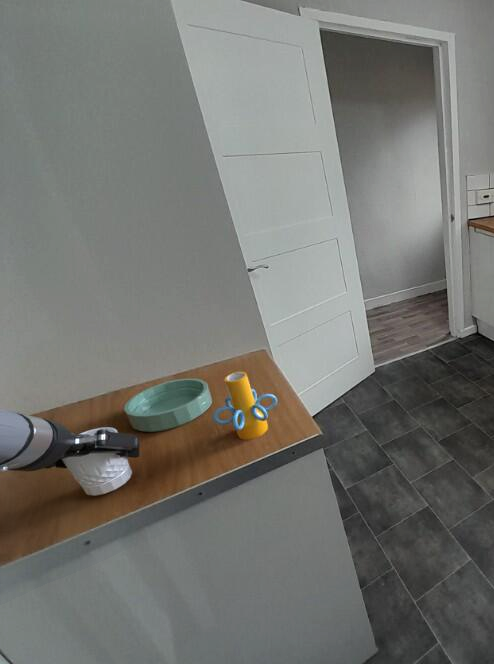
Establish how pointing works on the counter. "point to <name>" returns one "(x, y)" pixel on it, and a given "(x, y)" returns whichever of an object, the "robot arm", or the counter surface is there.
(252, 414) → the yellow vase
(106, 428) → the white cup
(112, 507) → the counter surface
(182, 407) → the green bowl
